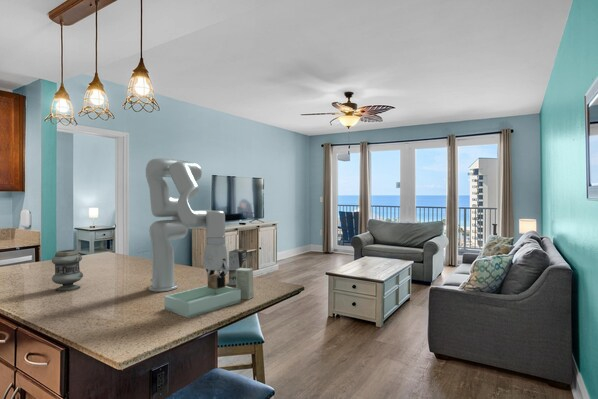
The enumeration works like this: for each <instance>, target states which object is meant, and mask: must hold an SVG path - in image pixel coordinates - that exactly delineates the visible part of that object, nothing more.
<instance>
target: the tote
mask: <svg viewBox="0 0 598 399" xmlns="http://www.w3.org/2000/svg"><path fill="white" fill-rule="evenodd" d="M241 302H242V301H241V290H240V289H236V287H232V286H227V285H225V287H224V288H220V289H216V290H215V289H211V288H208V284H207V285H204V286H199V287H195V288H191V289H188V290H184V291H180V292H175V293H171V294H167V295H164V310H166V311H168V312H172V313H173V314H174V313H175V314H177V315H180V316H182V317H185V318H188V319H190V318H194V317H197V316H200V315H201V316H202V315H204V314H206V313H207V314H208V313H209V312H212V311H213V312H214V311H215V310H219V309H222V308H225V307H229V306H232V305H235V304H238V303H241Z"/></svg>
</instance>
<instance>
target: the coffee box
mask: <svg viewBox="0 0 598 399" xmlns="http://www.w3.org/2000/svg"><path fill="white" fill-rule="evenodd" d="M228 268H229V271H228V285H229V286H236V270H237V269H239V268H248V249H246V248H245V249H238V248H237V249H233V250H231V251H229V252H228Z"/></svg>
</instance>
